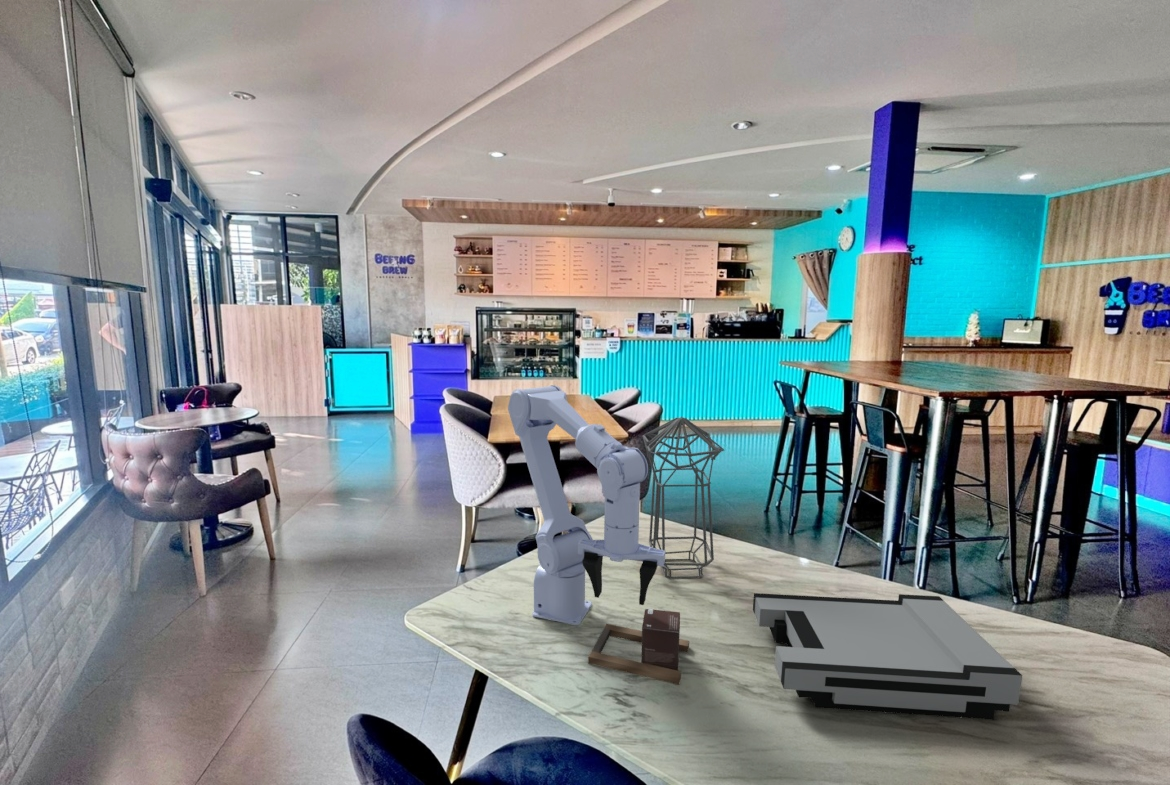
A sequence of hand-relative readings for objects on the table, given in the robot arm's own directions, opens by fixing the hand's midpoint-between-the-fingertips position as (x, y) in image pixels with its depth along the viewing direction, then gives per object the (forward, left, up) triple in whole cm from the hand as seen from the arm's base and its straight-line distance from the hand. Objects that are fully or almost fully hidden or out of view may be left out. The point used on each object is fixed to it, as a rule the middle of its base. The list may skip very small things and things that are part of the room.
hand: (620, 598), depth 91 cm
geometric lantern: (+4, +31, -10) cm, 33 cm away
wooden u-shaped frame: (+4, 0, -9) cm, 10 cm away
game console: (+39, +9, -10) cm, 41 cm away
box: (+7, -1, -10) cm, 12 cm away
